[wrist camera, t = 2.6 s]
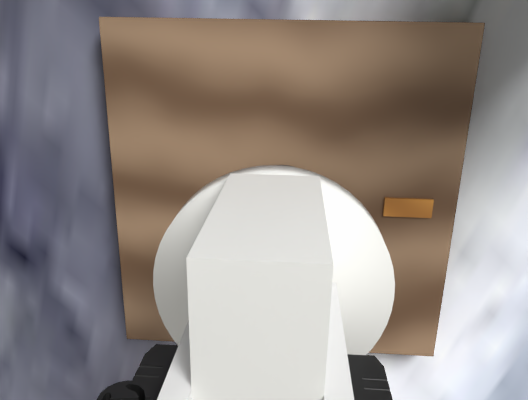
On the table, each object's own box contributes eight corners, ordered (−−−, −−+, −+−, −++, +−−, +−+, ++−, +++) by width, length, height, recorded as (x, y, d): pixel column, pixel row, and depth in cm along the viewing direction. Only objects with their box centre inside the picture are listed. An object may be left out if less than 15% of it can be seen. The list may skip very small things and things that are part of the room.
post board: (111, 18, 30) (-1, 4, 18) (472, 24, 28) (584, 12, 17) (135, 323, 37) (65, 445, 25) (425, 339, 35) (484, 475, 24)
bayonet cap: (156, 161, 20) (48, 251, 11) (400, 169, 19) (481, 271, 11) (169, 389, 23) (95, 588, 15) (374, 402, 23) (419, 617, 14)
